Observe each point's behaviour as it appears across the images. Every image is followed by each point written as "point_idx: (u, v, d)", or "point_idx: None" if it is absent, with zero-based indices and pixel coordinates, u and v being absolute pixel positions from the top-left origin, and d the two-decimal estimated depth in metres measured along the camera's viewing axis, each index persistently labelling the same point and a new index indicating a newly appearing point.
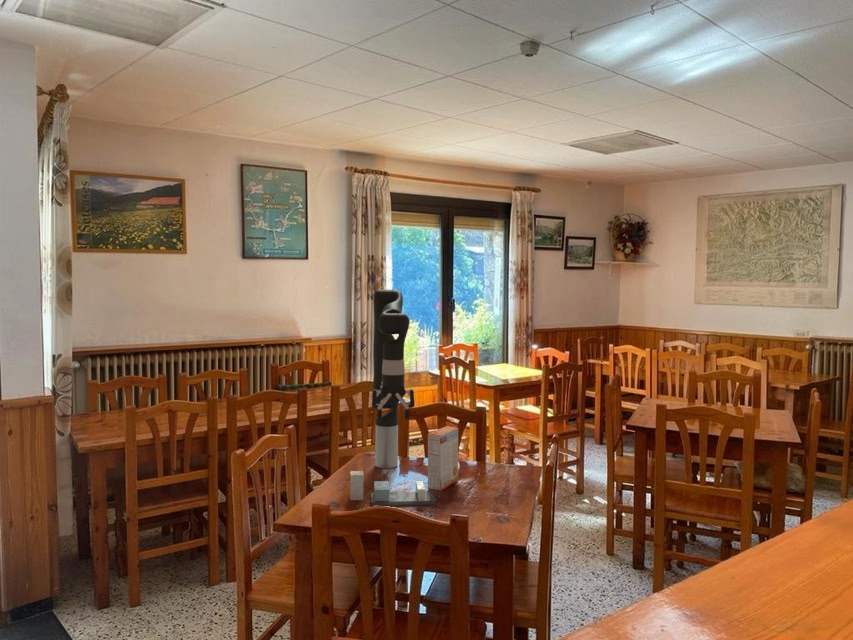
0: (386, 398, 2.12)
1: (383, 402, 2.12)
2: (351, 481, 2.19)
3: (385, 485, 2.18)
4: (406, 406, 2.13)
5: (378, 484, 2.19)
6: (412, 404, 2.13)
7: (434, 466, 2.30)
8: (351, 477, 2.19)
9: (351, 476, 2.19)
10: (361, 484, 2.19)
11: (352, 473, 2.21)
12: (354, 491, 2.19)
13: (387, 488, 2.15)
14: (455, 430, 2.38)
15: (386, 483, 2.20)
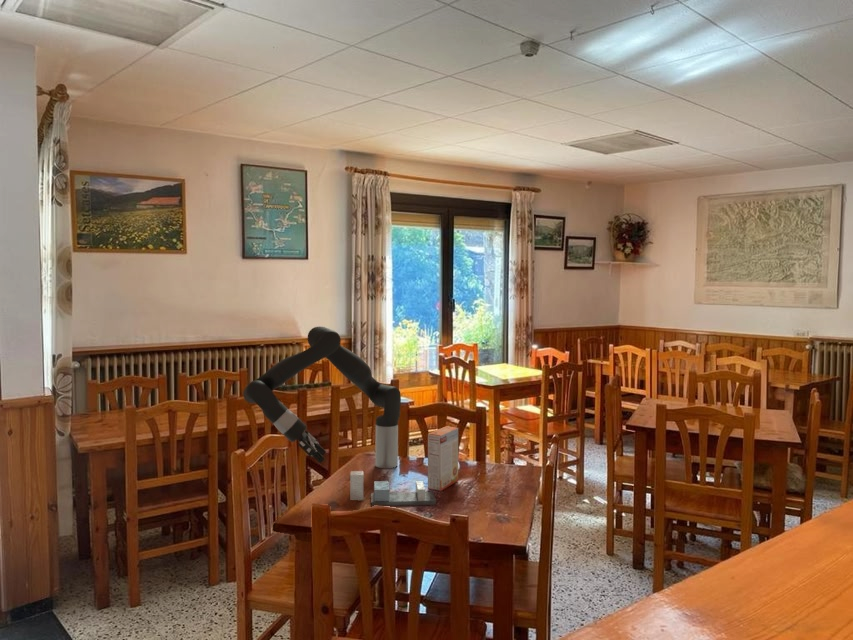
0: None
1: None
2: (351, 481, 2.19)
3: (385, 485, 2.18)
4: None
5: (378, 484, 2.19)
6: None
7: (434, 466, 2.30)
8: (351, 477, 2.19)
9: (351, 476, 2.19)
10: (361, 484, 2.19)
11: (352, 473, 2.21)
12: (354, 491, 2.19)
13: (387, 488, 2.15)
14: (455, 430, 2.38)
15: (386, 483, 2.20)
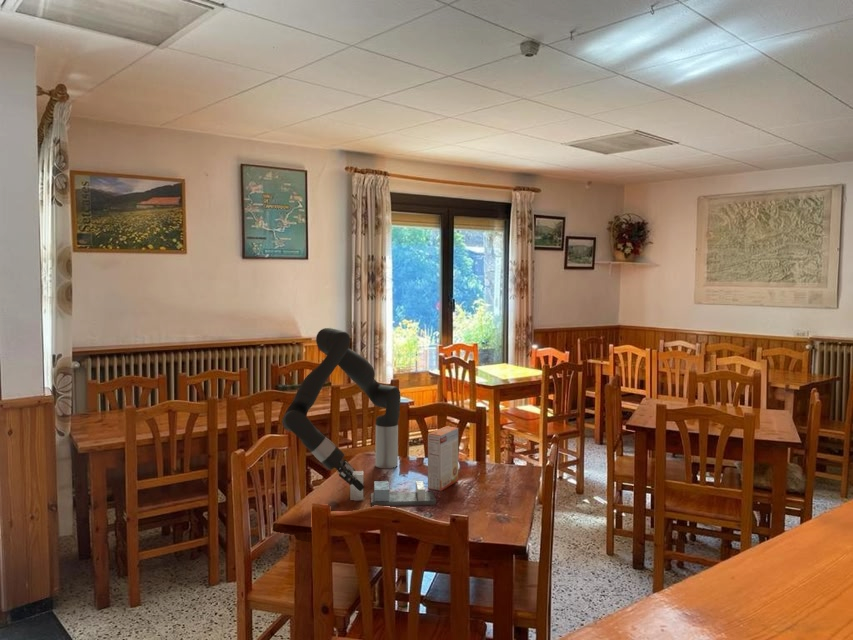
0: None
1: None
2: None
3: (385, 485, 2.18)
4: None
5: (378, 484, 2.19)
6: None
7: (434, 466, 2.30)
8: None
9: None
10: None
11: None
12: (354, 491, 2.19)
13: (387, 488, 2.15)
14: (455, 430, 2.38)
15: (386, 483, 2.20)
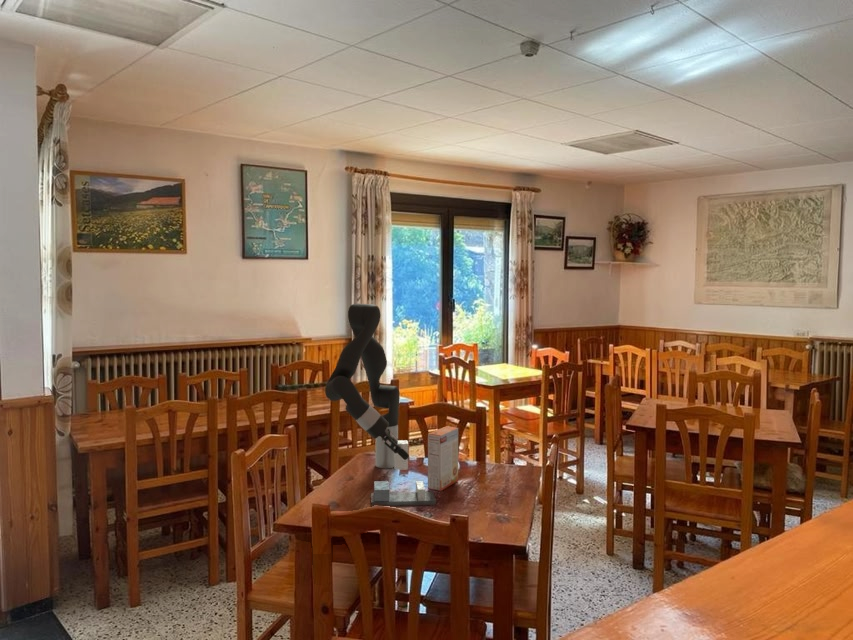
0: None
1: None
2: None
3: (385, 485, 2.18)
4: None
5: (378, 484, 2.19)
6: None
7: (434, 466, 2.30)
8: None
9: None
10: None
11: None
12: (398, 460, 2.17)
13: (387, 488, 2.15)
14: (455, 430, 2.38)
15: (386, 483, 2.20)
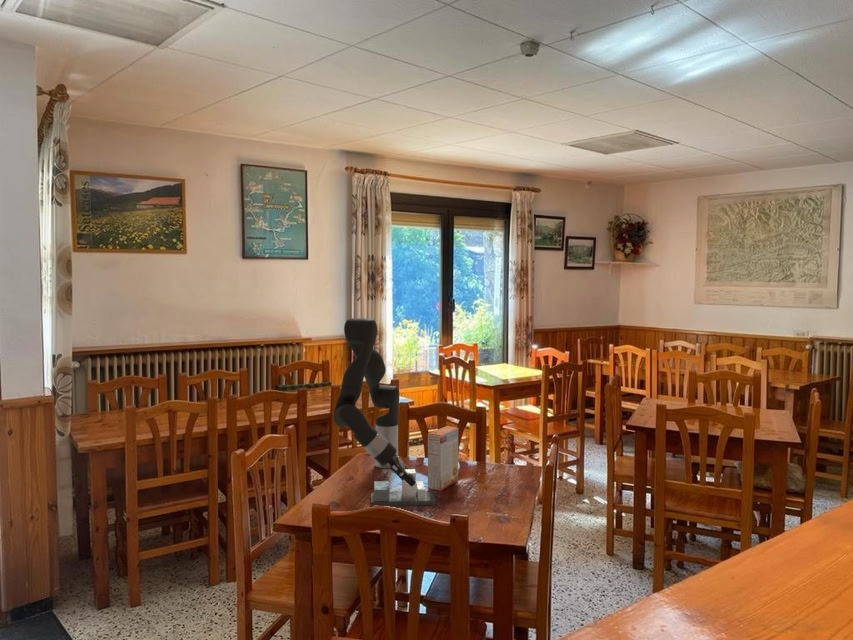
0: None
1: None
2: None
3: (385, 485, 2.18)
4: None
5: (378, 484, 2.19)
6: None
7: (434, 466, 2.30)
8: None
9: (403, 474, 2.17)
10: None
11: None
12: (406, 489, 2.17)
13: (387, 488, 2.15)
14: (455, 430, 2.38)
15: (386, 483, 2.20)
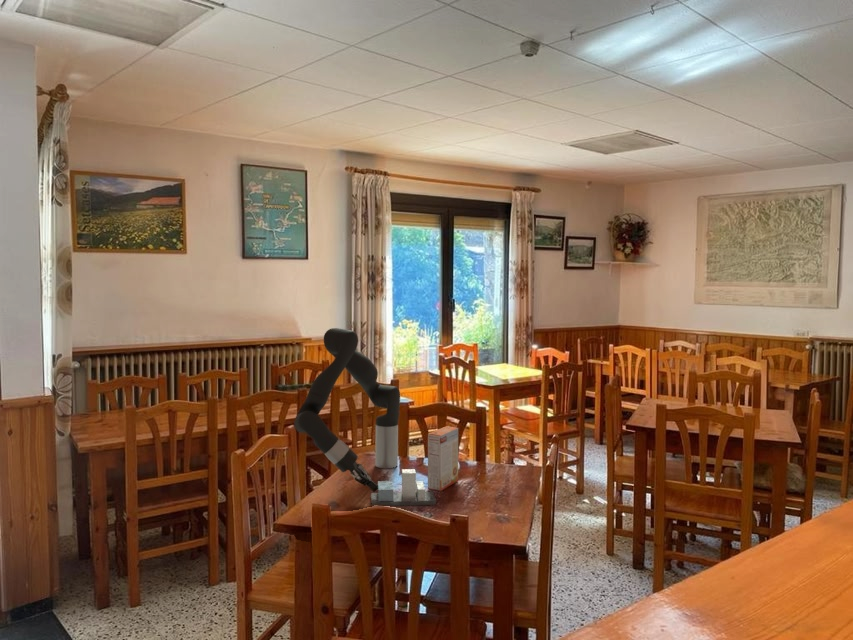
0: None
1: None
2: (403, 479, 2.17)
3: (388, 485, 2.18)
4: None
5: (381, 484, 2.19)
6: None
7: (434, 466, 2.30)
8: (403, 475, 2.17)
9: (403, 474, 2.17)
10: (413, 482, 2.17)
11: (404, 471, 2.18)
12: (406, 489, 2.17)
13: (391, 488, 2.15)
14: (455, 430, 2.38)
15: (390, 483, 2.20)
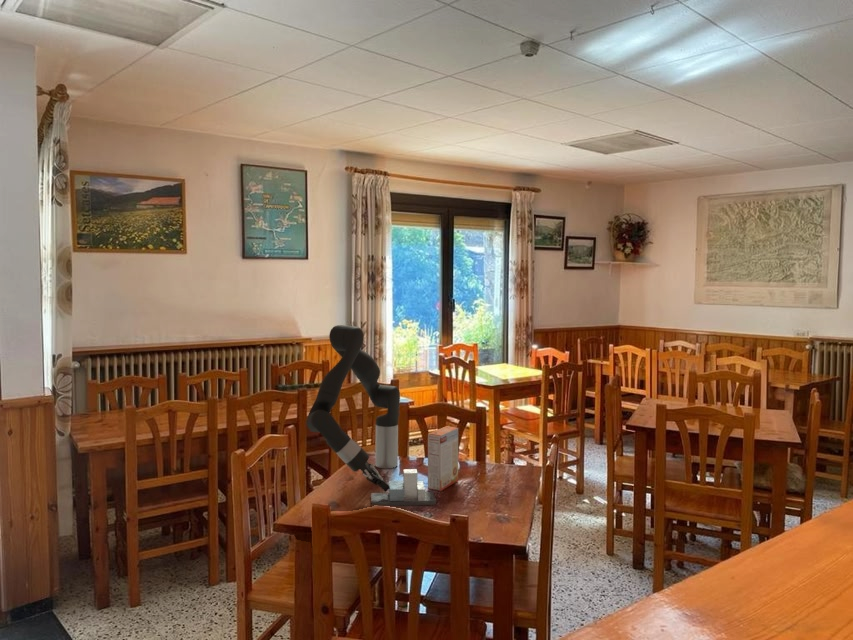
0: None
1: None
2: (405, 479, 2.17)
3: (400, 485, 2.18)
4: None
5: (393, 484, 2.20)
6: None
7: (434, 466, 2.30)
8: (405, 475, 2.17)
9: (405, 474, 2.17)
10: (415, 482, 2.17)
11: (406, 471, 2.19)
12: (408, 489, 2.17)
13: (402, 488, 2.16)
14: (455, 430, 2.38)
15: (401, 483, 2.21)
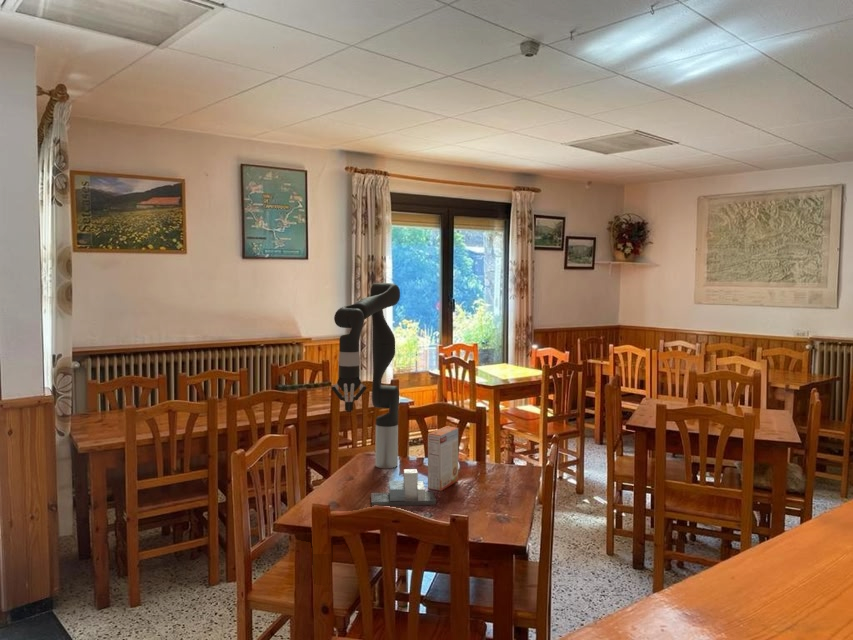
0: (345, 389, 2.25)
1: (346, 394, 2.25)
2: (405, 479, 2.17)
3: (400, 485, 2.18)
4: (350, 399, 2.26)
5: (393, 484, 2.20)
6: (356, 397, 2.26)
7: (434, 466, 2.30)
8: (405, 475, 2.17)
9: (405, 474, 2.17)
10: (415, 482, 2.17)
11: (406, 471, 2.19)
12: (408, 489, 2.17)
13: (402, 488, 2.16)
14: (455, 430, 2.38)
15: (401, 483, 2.21)
